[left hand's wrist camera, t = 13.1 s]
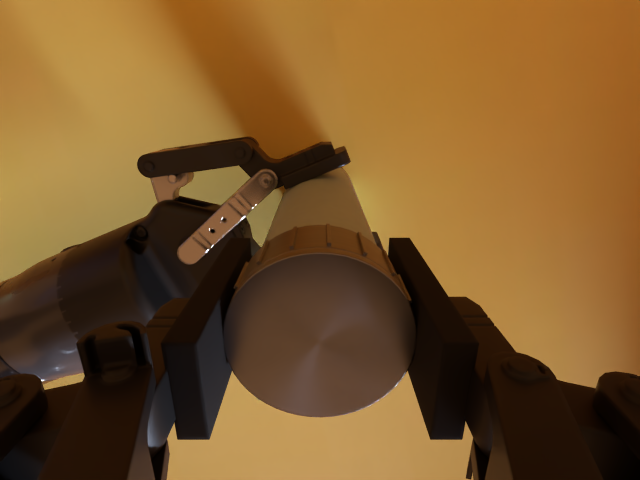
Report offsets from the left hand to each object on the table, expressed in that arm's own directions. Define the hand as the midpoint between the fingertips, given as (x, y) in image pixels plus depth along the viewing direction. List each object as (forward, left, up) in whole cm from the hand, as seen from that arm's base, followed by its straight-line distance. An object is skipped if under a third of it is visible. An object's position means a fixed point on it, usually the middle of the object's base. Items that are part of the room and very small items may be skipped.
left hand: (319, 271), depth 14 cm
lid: (0, 0, +4) cm, 4 cm away
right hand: (-2, -1, -7) cm, 8 cm away
